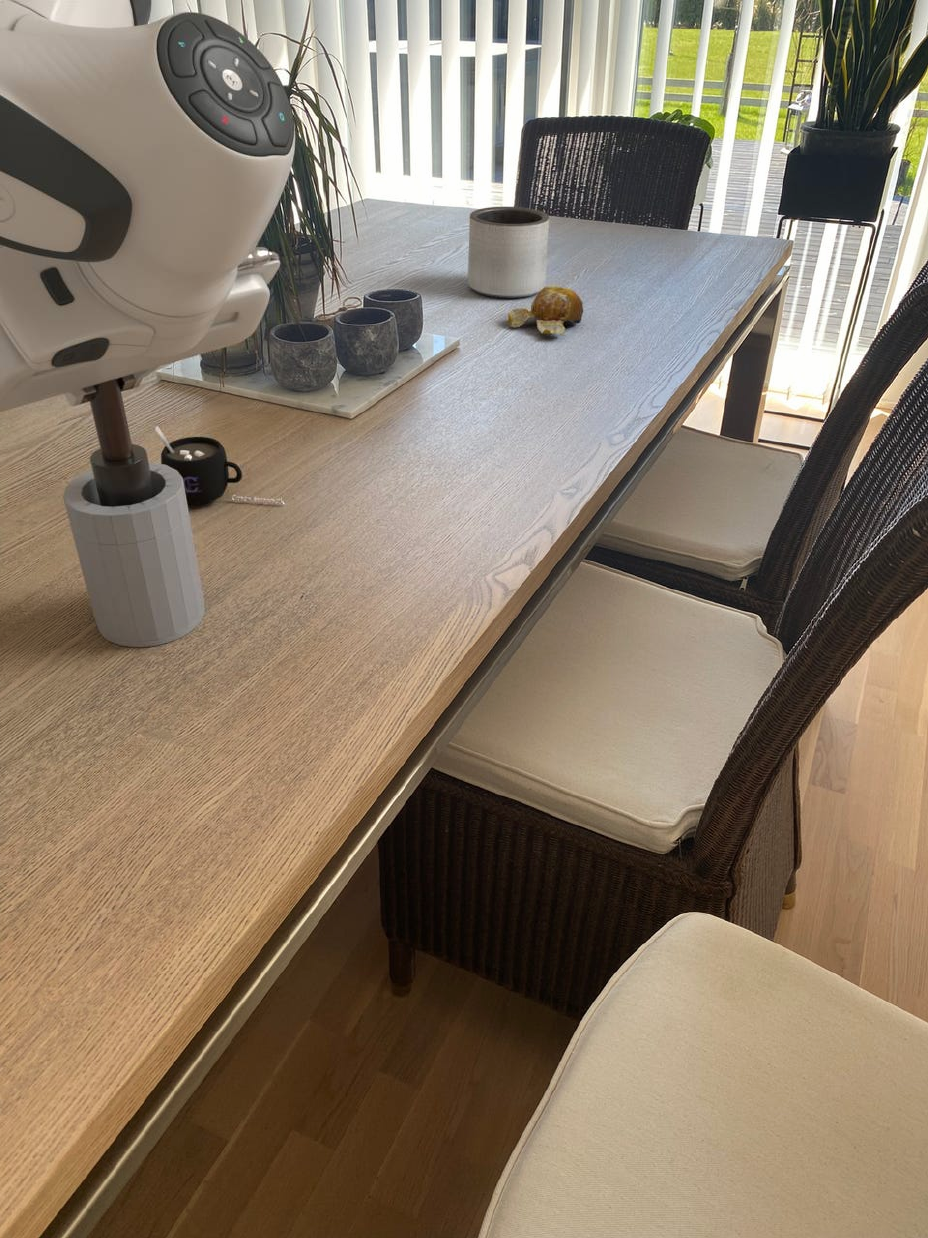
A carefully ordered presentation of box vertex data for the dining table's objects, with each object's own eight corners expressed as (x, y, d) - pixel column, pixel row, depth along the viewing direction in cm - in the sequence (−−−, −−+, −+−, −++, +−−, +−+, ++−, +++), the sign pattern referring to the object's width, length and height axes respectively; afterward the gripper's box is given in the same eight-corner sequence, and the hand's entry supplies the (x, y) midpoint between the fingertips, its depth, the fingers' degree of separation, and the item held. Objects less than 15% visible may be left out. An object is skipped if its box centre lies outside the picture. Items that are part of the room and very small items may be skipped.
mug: (156, 510, 93) (142, 440, 88) (180, 481, 98) (167, 413, 93) (275, 520, 91) (267, 449, 87) (293, 489, 96) (286, 421, 92)
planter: (550, 280, 157) (555, 208, 150) (538, 303, 147) (542, 227, 140) (477, 274, 159) (478, 203, 153) (459, 296, 149) (460, 221, 143)
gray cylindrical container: (112, 659, 74) (78, 525, 67) (86, 604, 80) (52, 476, 73) (219, 627, 77) (197, 497, 70) (186, 577, 83) (163, 452, 76)
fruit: (498, 322, 138) (499, 289, 136) (546, 307, 145) (548, 276, 142) (554, 339, 132) (556, 305, 130) (601, 323, 139) (604, 290, 136)
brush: (108, 520, 70) (57, 302, 61) (95, 497, 73) (44, 285, 63) (162, 507, 72) (120, 293, 62) (147, 485, 74) (105, 277, 65)
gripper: (264, 203, 62) (202, 316, 73) (-53, 262, 50) (-69, 387, 61) (312, 287, 62) (243, 387, 73) (7, 366, 50) (-20, 472, 61)
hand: (99, 388), depth 67 cm, fingers closed on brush, 2 cm apart
